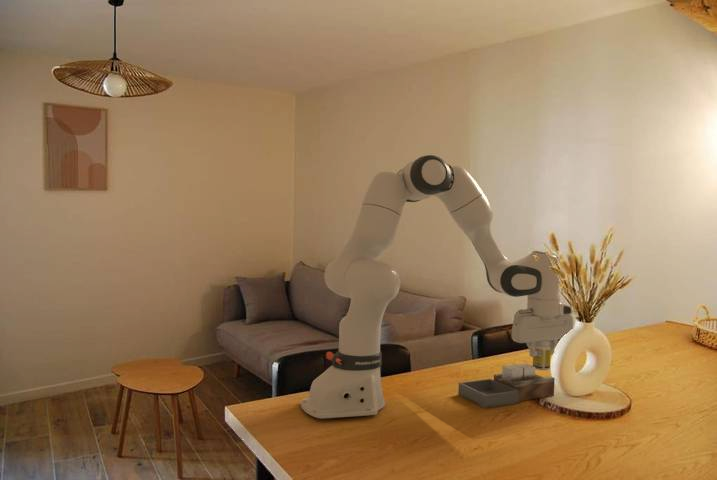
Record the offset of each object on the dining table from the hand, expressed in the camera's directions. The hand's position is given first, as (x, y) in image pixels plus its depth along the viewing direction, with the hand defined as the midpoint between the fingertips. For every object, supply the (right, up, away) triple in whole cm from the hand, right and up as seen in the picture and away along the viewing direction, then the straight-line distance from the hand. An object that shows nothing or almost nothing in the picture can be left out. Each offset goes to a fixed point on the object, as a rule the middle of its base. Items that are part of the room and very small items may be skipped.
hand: (541, 355), depth 156 cm
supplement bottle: (0, -4, 0) cm, 4 cm away
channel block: (-6, -10, -3) cm, 12 cm away
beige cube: (-10, -6, -4) cm, 12 cm away
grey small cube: (-6, -6, -3) cm, 9 cm away
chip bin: (-17, -10, -8) cm, 22 cm away
